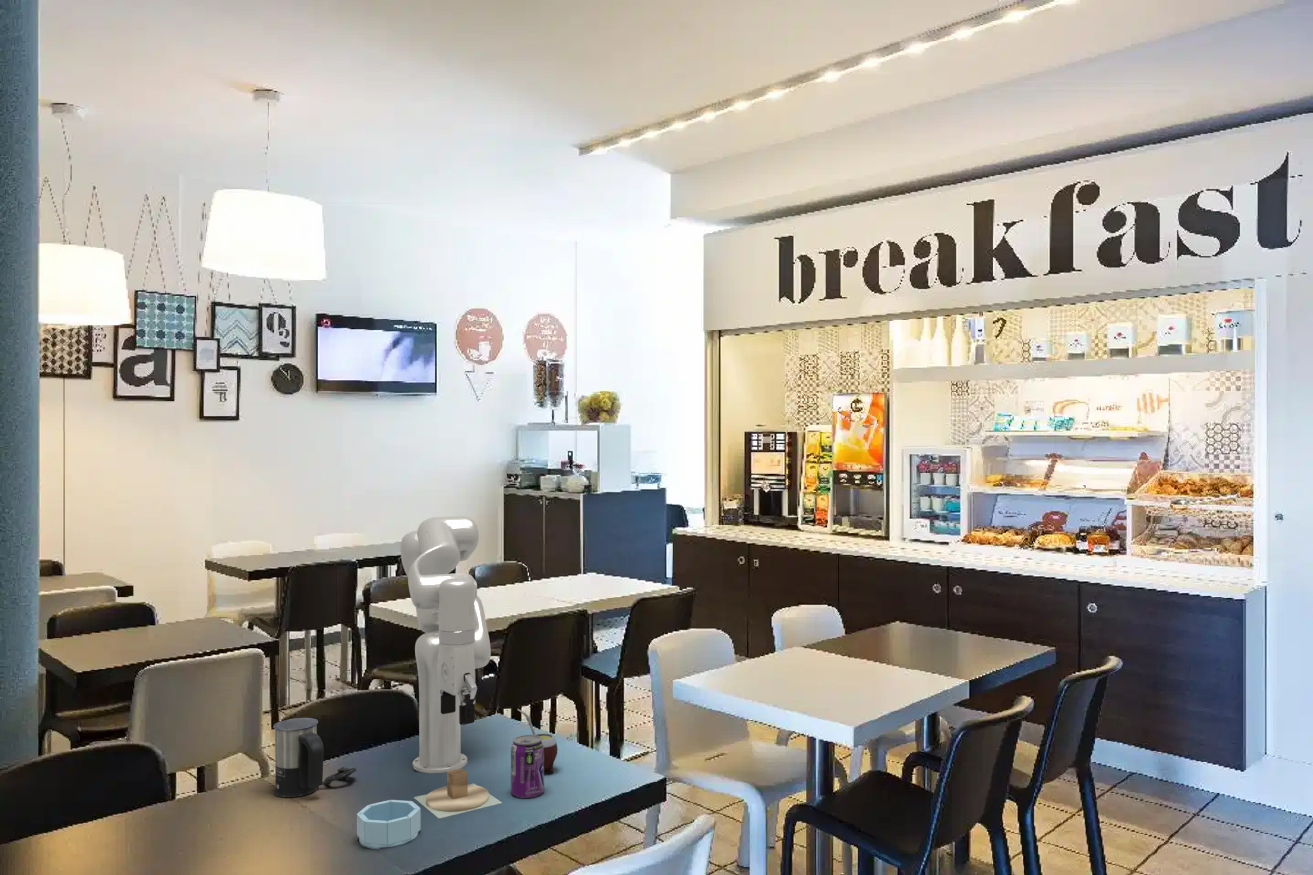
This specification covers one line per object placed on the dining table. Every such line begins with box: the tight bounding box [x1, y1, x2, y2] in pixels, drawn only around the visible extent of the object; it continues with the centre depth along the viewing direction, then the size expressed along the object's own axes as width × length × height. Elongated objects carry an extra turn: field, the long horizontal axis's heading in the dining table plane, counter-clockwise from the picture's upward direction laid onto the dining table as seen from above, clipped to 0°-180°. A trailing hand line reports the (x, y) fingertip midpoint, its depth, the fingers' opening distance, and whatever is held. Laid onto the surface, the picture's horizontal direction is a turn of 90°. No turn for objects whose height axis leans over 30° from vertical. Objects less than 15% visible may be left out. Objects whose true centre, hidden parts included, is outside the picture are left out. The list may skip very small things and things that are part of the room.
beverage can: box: [510, 734, 545, 799], centre depth 204 cm, size 7×7×12 cm
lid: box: [426, 767, 490, 812], centre depth 200 cm, size 13×13×6 cm
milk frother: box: [273, 717, 357, 798], centre depth 209 cm, size 14×16×15 cm
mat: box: [413, 783, 503, 820], centre depth 200 cm, size 14×14×1 cm
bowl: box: [356, 799, 422, 850], centre depth 182 cm, size 11×11×5 cm
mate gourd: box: [516, 708, 558, 775], centre depth 218 cm, size 8×8×15 cm
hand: (457, 718), depth 200 cm, fingers open, 9 cm apart
